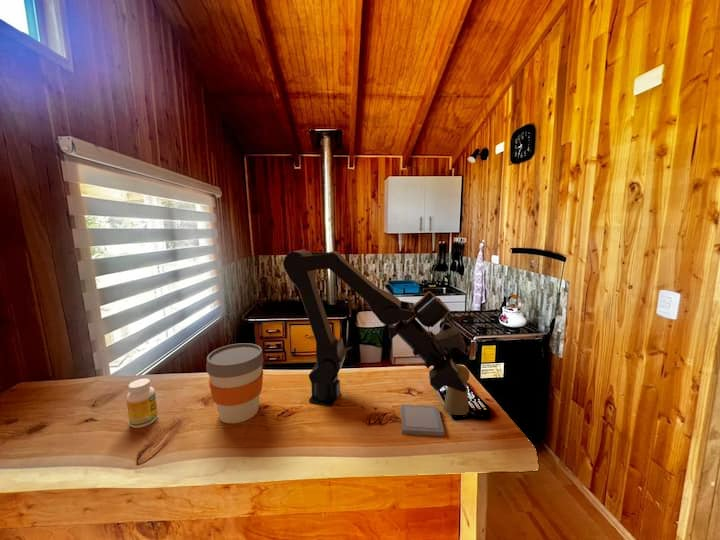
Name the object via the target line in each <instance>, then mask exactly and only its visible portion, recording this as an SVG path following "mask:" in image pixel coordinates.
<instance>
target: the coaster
mask: <svg viewBox="0 0 720 540" xmlns="http://www.w3.org/2000/svg"><path fill="white" fill-rule="evenodd" d="M439 409H440V408H439V406H436V405H435V406H433V405H432V406H431V405H418V404H417V405H413V404H400V420H401V434H404V435H419V436H434V437H445V432H446V431H445V429H444V425H443V421H442V416H441V414H440V410H439Z"/></svg>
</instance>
